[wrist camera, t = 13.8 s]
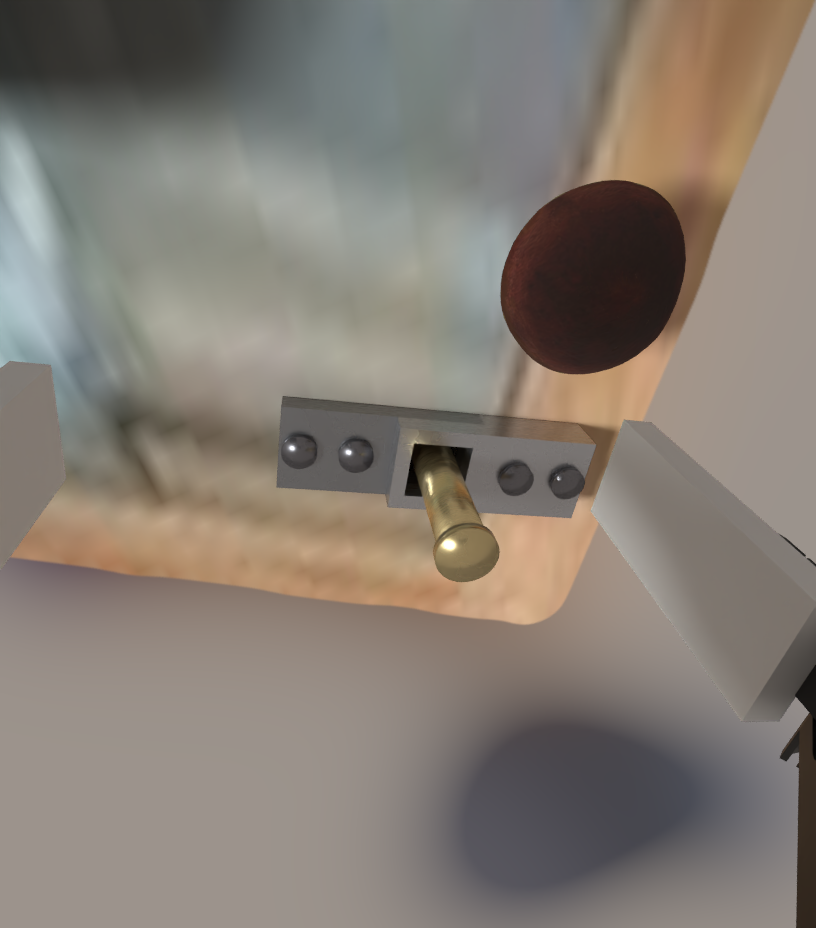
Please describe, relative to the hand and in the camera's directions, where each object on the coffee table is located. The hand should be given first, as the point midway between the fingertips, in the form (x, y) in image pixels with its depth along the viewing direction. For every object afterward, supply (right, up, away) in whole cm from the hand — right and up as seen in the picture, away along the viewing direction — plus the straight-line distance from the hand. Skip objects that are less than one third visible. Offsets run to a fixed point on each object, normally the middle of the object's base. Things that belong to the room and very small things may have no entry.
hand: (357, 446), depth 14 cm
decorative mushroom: (+11, +15, +30) cm, 35 cm away
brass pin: (+3, +1, +37) cm, 37 cm away
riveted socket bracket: (+3, +1, +37) cm, 37 cm away
